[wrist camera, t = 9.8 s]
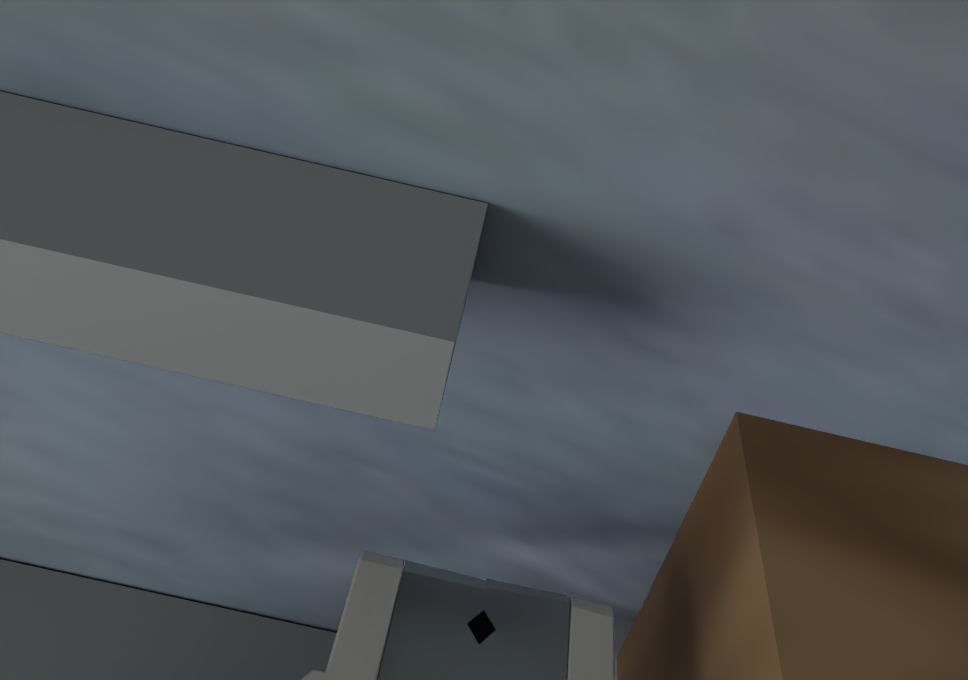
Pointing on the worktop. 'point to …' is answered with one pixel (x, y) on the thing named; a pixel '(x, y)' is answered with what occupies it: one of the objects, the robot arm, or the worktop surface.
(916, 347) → the worktop surface
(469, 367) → the worktop surface
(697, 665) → the walnut block
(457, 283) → the channel
